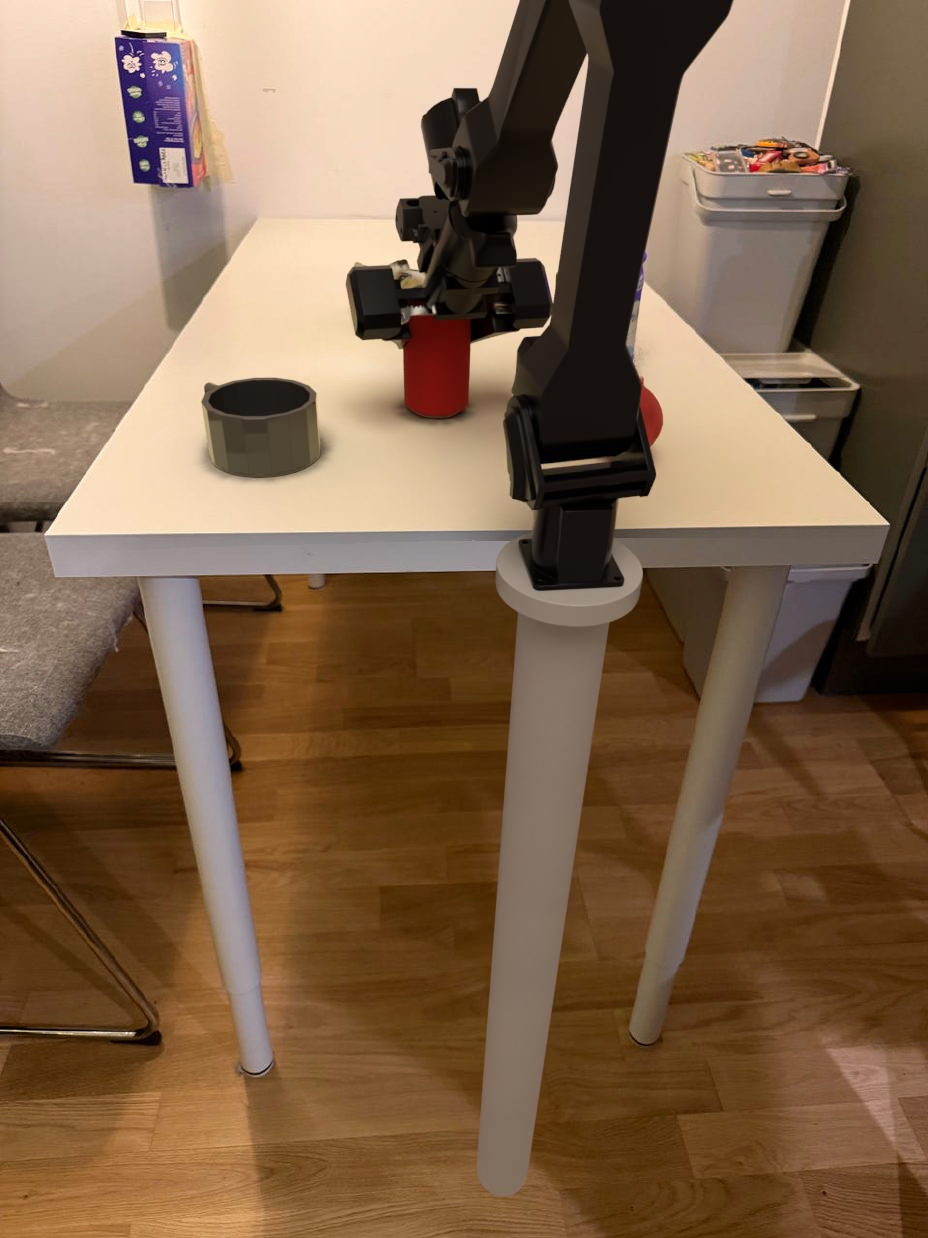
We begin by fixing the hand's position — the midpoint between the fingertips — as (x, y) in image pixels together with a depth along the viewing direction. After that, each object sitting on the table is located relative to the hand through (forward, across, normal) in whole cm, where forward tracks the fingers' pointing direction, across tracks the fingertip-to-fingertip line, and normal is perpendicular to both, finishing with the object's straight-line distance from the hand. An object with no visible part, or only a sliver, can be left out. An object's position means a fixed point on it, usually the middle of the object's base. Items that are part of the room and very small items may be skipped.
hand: (433, 342), depth 89 cm
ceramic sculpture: (+24, -4, -14) cm, 28 cm away
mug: (0, +19, +10) cm, 22 cm away
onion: (-8, -14, +17) cm, 23 cm away
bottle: (+8, -22, +1) cm, 24 cm away
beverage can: (+4, 0, +6) cm, 7 cm away
